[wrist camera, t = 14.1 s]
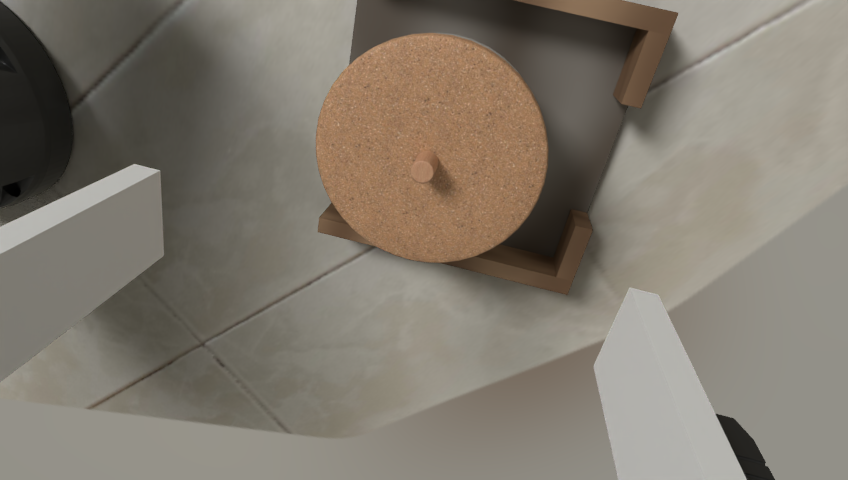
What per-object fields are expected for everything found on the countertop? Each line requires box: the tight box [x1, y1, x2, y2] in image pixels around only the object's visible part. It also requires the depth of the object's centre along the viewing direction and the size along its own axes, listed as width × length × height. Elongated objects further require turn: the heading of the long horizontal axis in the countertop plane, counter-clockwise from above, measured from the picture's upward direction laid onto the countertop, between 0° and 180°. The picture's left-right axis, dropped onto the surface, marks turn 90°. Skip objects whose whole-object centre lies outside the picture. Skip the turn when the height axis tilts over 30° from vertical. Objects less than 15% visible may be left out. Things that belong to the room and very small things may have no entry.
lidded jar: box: [316, 33, 548, 263], centre depth 26 cm, size 11×11×9 cm
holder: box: [318, 0, 678, 295], centre depth 29 cm, size 16×16×3 cm
